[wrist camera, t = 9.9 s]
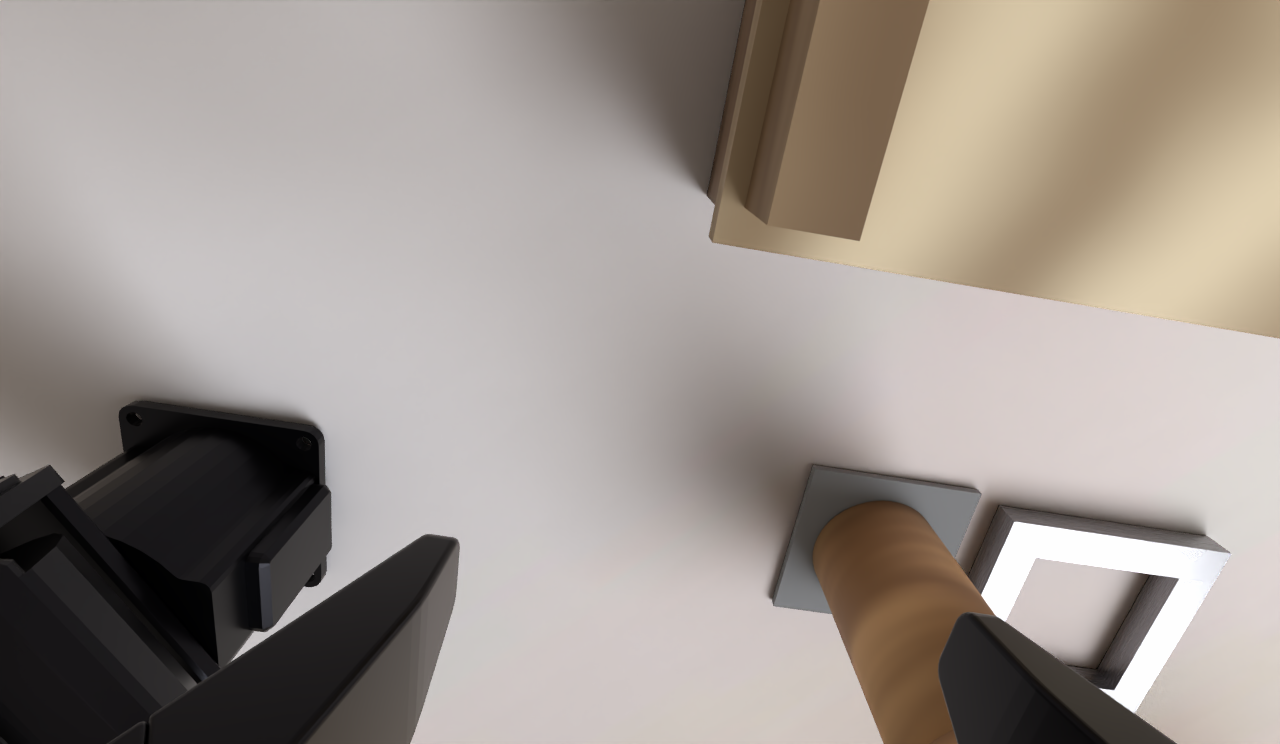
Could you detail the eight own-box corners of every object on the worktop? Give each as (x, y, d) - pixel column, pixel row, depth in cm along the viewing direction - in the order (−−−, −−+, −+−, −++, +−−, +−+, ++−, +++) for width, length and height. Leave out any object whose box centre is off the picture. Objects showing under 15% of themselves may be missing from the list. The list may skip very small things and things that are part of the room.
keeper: (926, 672, 26) (937, 693, 25) (999, 505, 23) (1014, 521, 22) (1113, 697, 26) (1131, 718, 25) (1207, 536, 23) (1231, 553, 22)
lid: (708, 236, 14) (727, 267, 11) (790, -164, 11) (845, -273, 8) (1291, 335, 15) (1463, 390, 12) (1491, -18, 12) (1779, -69, 9)
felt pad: (772, 600, 24) (773, 606, 24) (813, 464, 22) (815, 469, 22) (922, 621, 25) (925, 626, 24) (977, 489, 22) (981, 493, 22)
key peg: (779, 603, 24) (875, 921, 14) (818, 476, 22) (959, 748, 12) (922, 621, 24) (1107, 942, 15) (973, 497, 22) (1225, 777, 13)
